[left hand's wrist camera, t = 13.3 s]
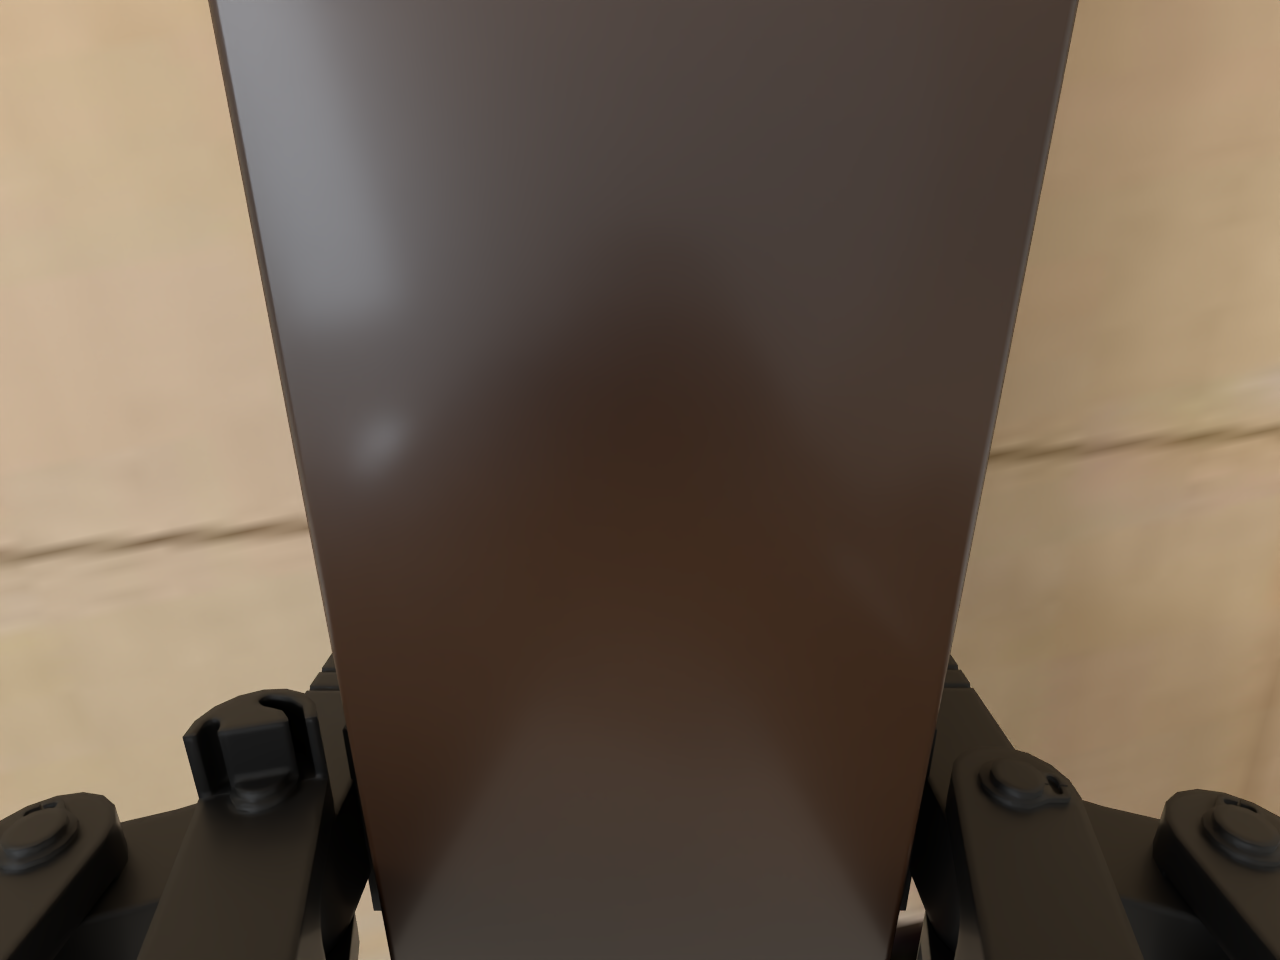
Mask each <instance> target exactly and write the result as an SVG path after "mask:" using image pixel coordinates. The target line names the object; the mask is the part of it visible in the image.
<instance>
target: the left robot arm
mask: <svg viewBox="0 0 1280 960" xmlns="http://www.w3.org/2000/svg"><path fill="white" fill-rule="evenodd" d="M183 741H184V744H185V748H186V752H187V755H188V759H189V763H190V766H191V770H192V774H193V778H194V781H195V785H196V789H197V792H198V796H199V800H198V803H197V804H194V805H190V806H187V807H184V808H180V809H177V810H173V811H168V812H164V813H160V814H155V815H151V816H147V817H142V818H138V819H134V820H129V821H125V822H121V823H120V820H119V817H118V814H117V811H116V808H115V805H114V804H113V803H112V802H110V801H109V800H108V799H107V798H106V797H105V796H103V795H97V794H91V793H85V792H82V793H74V794H67V795H60V796H55V797H52V798H50V799H47V800H44V801H41V802H38V803H35V804H32V805H29V806H27V807H25V808H23V809H21V810H19V811H17V812H16V813H14V814H12V815H10V816H8V817H6V818H5V819H3V820H1V821H0V960H358V953H359V943H360V942H359V935H358V928H357V922H356V917H355V910H356V908H357V905H358V903H359V900H360V898H361V895H362V893H363V890H364V888H365V885H366V883H367V880H369V885H370V891H371V897H372V903H373V908H374V911H382V910H381V905H380V900H379V894H378V889H377V884H376V879H375V873H374V868H373V863H372V858H371V852H370V847H369V842H368V837H367V831H366V826H365V821H364V816H363V810H362V805H361V800H360V795H359V789H358V784H357V779H356V774H355V768H354V763H353V758H352V753H351V747H350V742H349V737H348V732H347V726H346V721H345V716H344V711H343V705H342V700H341V695H340V690H339V684H338V679H337V674H336V669H335V663H334V658H333V653H332V654H331V656H330V657H329V659H328V660H327V662H326V663H325V665H324V666H323V668H322V672H319V673H318V675H317V676H316V678H315V679H314V681H313V682H312V684H311V685H310V690H309V691H306V693H301V692H297V691H293V690H289V689H271V690H261V691H257V692H252V693H248V694H244V695H240V696H237V697H235V698H233V699H231V700H228V701H226V702H224V703H222V704H220V705H217V706H215V707H214V708H212V709H211V710H209V711H208V712H207V713H205V714H204V715H203V716H201V717H200V718H198V719H197V720H196V721H195V722H194V723H193V724H192V726H191V727H190V728H189V729H188V731H187V732H186V733H185V735H184V736H183ZM911 877H912V878H913V880H914V883H915V885H916V888H917V890H918V893H919V895H920V898H921V900H922V903H923V905H924V908H925V910H926V911H925V917H924V922H923V927H922V933H921V938H920V943H919V948H918V954H917V959H916V960H1280V817H1279V816H1277V815H1275V814H1273V813H1271V812H1269V811H1267V810H1266V809H1264V808H1262V807H1260V806H1258V805H1256V804H1254V803H1252V802H1249V801H1246V800H1244V799H1240V798H1238V797H1235V796H1232V795H1229V794H1226V793H1222V792H1215V791H1208V790H1200V789H1194V790H1188V791H1182V792H1177V793H1176V794H1174V795H1173V796H1172V797H1171V798H1170V799H1169V800H1168V801H1166V803H1165V806H1164V809H1163V812H1162V815H1161V819H1155V818H1151V817H1147V816H1142V815H1138V814H1134V813H1129V812H1125V811H1121V810H1116V809H1112V808H1108V807H1103V806H1100V805H1097V804H1093V803H1090V802H1087V801H1083V800H1082V799H1081V797H1080V795H1079V794H1078V792H1077V791H1076V789H1075V788H1074V786H1073V785H1072V783H1071V782H1070V780H1069V779H1067V778H1066V777H1065V776H1064V775H1062V774H1061V773H1060V772H1059V771H1058V770H1056V769H1055V768H1054V767H1053V766H1052V765H1050V764H1048V763H1046V762H1044V761H1042V760H1040V759H1038V758H1036V757H1034V756H1032V755H1030V754H1028V753H1025V752H1021V751H1018V750H1015V749H1014V748H1013V746H1012V745H1011V743H1010V742H1009V740H1008V739H1007V737H1006V736H1005V734H1004V733H1003V731H1002V730H1001V728H1000V727H999V725H998V724H997V722H996V721H995V720H994V718H993V717H992V715H991V714H990V712H989V711H988V709H987V708H986V706H985V705H984V703H983V702H982V700H981V699H980V697H979V696H978V694H977V693H976V692H975V690H974V689H973V688H970V683H969V681H968V680H967V678H966V677H965V675H964V674H963V672H962V671H961V670H958V665H957V663H956V662H955V661H954V659H953V658H952V656H951V655H950V657H949V662H948V667H947V672H946V677H945V682H944V687H943V692H942V698H941V703H940V708H939V713H938V718H937V723H936V728H935V733H934V738H933V743H932V748H931V753H930V759H929V764H928V769H927V774H926V779H925V784H924V789H923V794H922V799H921V804H920V809H919V814H918V820H917V825H916V830H915V835H914V840H913V845H912V850H911V855H910V860H909V865H908V870H907V875H906V881H905V886H904V891H903V896H902V901H901V906H900V910H906V906H907V900H908V894H909V889H910V883H911Z"/></svg>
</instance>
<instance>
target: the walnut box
mask: <svg viewBox="0 0 1280 960" xmlns="http://www.w3.org/2000/svg"><path fill="white" fill-rule="evenodd" d="M1078 1H1079V0H208V2H209V7H210V12H211V17H212V23H213V28H214V33H215V38H216V44H217V49H218V54H219V59H220V65H221V70H222V75H223V80H224V86H225V91H226V96H227V101H228V107H229V112H230V117H231V122H232V128H233V133H234V138H235V143H236V149H237V154H238V159H239V164H240V170H241V175H242V180H243V185H244V191H245V196H246V201H247V207H248V212H249V217H250V222H251V228H252V233H253V238H254V243H255V248H256V254H257V259H258V264H259V270H260V275H261V280H262V285H263V291H264V296H265V301H266V306H267V312H268V317H269V322H270V327H271V333H272V338H273V343H274V348H275V354H276V359H277V364H278V369H279V375H280V380H281V385H282V390H283V396H284V401H285V406H286V411H287V417H288V422H289V427H290V432H291V438H292V443H293V448H294V453H295V459H296V464H297V469H298V474H299V480H300V485H301V490H302V495H303V501H304V506H305V511H306V516H307V522H308V527H309V532H310V537H311V543H312V548H313V553H314V558H315V564H316V569H317V574H318V579H319V585H320V590H321V595H322V600H323V606H324V611H325V616H326V621H327V627H328V632H329V637H330V642H331V648H332V653H333V658H334V663H335V669H336V674H337V679H338V684H339V690H340V695H341V700H342V705H343V711H344V716H345V721H346V726H347V732H348V737H349V742H350V747H351V753H352V758H353V763H354V768H355V774H356V779H357V784H358V789H359V795H360V800H361V805H362V810H363V816H364V821H365V826H366V831H367V837H368V842H369V847H370V852H371V858H372V863H373V868H374V873H375V879H376V884H377V889H378V894H379V900H380V905H381V910H382V915H383V921H384V926H385V931H386V936H387V942H388V947H389V952H390V957H391V960H890V957H891V952H892V947H893V942H894V936H895V931H896V926H897V921H898V916H899V911H900V906H901V901H902V896H903V891H904V886H905V881H906V875H907V870H908V865H909V860H910V855H911V850H912V845H913V840H914V835H915V830H916V825H917V820H918V814H919V809H920V804H921V799H922V794H923V789H924V784H925V779H926V774H927V769H928V764H929V759H930V753H931V748H932V743H933V738H934V733H935V728H936V723H937V718H938V713H939V708H940V703H941V698H942V692H943V687H944V682H945V677H946V672H947V667H948V662H949V657H950V652H951V647H952V642H953V637H954V631H955V626H956V621H957V616H958V611H959V606H960V601H961V596H962V591H963V586H964V581H965V576H966V570H967V565H968V560H969V555H970V550H971V545H972V540H973V535H974V530H975V525H976V520H977V515H978V509H979V504H980V499H981V494H982V489H983V484H984V479H985V474H986V469H987V464H988V459H989V454H990V448H991V443H992V438H993V433H994V428H995V423H996V418H997V413H998V408H999V403H1000V398H1001V393H1002V387H1003V382H1004V377H1005V372H1006V367H1007V362H1008V357H1009V352H1010V347H1011V342H1012V337H1013V332H1014V326H1015V321H1016V316H1017V311H1018V306H1019V301H1020V296H1021V291H1022V286H1023V281H1024V276H1025V271H1026V265H1027V260H1028V255H1029V250H1030V245H1031V240H1032V235H1033V230H1034V225H1035V220H1036V215H1037V210H1038V204H1039V199H1040V194H1041V189H1042V184H1043V179H1044V174H1045V169H1046V164H1047V159H1048V154H1049V149H1050V143H1051V138H1052V133H1053V128H1054V123H1055V118H1056V113H1057V108H1058V103H1059V98H1060V93H1061V88H1062V82H1063V77H1064V72H1065V67H1066V62H1067V57H1068V52H1069V47H1070V42H1071V37H1072V32H1073V26H1074V21H1075V16H1076V11H1077V6H1078Z"/></svg>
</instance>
